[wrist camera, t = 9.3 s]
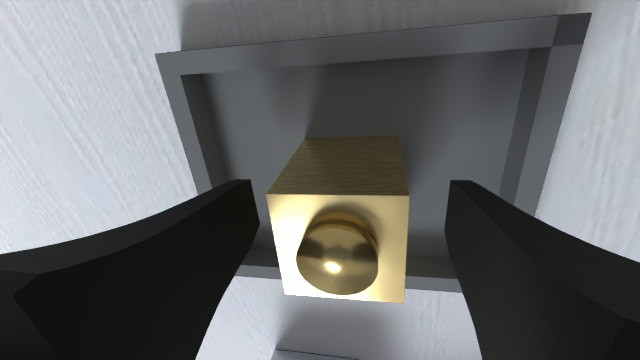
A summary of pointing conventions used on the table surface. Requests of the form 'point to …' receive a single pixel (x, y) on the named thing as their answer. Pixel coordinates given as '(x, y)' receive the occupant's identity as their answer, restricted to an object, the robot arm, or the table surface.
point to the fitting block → (342, 219)
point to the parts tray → (384, 116)
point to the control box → (301, 356)
